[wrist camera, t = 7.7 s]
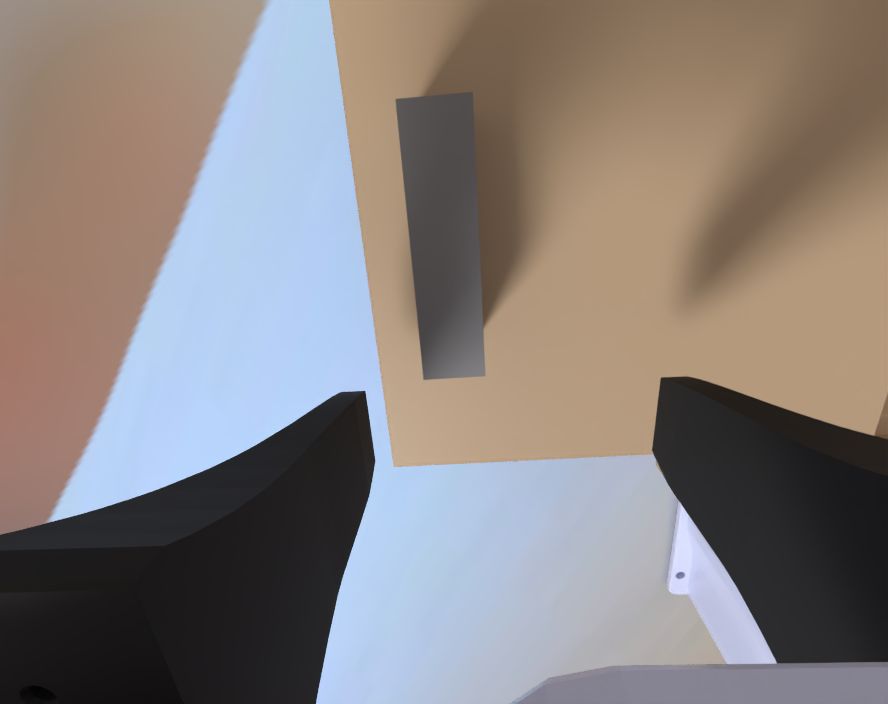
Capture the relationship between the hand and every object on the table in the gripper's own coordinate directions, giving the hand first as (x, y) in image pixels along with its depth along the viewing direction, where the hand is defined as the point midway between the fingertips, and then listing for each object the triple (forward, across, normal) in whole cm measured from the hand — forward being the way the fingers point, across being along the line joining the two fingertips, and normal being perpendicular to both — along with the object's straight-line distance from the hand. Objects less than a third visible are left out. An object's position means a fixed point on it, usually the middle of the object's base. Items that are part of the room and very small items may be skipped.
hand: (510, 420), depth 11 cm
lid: (+4, -4, -4) cm, 7 cm away
